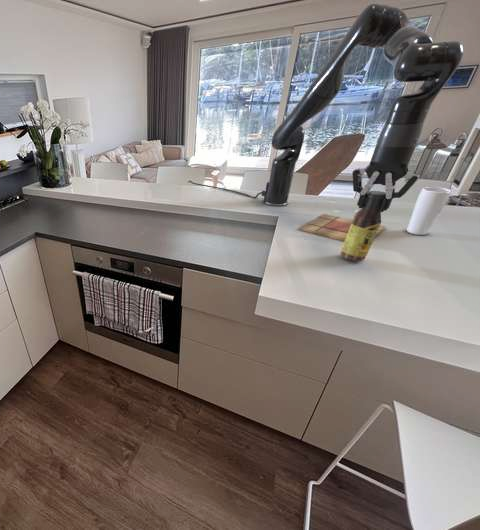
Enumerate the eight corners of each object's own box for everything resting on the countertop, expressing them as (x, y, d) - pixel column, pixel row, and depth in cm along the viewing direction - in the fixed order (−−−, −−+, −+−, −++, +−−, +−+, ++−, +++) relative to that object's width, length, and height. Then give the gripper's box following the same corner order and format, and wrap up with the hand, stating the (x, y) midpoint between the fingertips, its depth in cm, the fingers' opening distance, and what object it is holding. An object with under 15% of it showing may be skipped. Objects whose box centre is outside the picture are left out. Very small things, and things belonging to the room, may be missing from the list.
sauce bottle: (360, 264, 83) (388, 198, 73) (335, 256, 88) (359, 193, 78) (368, 257, 86) (396, 192, 76) (344, 250, 91) (368, 188, 81)
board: (299, 229, 108) (300, 226, 107) (323, 216, 118) (324, 213, 117) (363, 246, 94) (364, 242, 93) (384, 228, 104) (385, 225, 103)
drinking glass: (426, 230, 100) (447, 187, 93) (432, 237, 95) (455, 193, 88) (401, 227, 103) (419, 186, 96) (405, 234, 98) (425, 191, 91)
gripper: (440, 142, 68) (409, 211, 76) (367, 139, 78) (346, 201, 86) (431, 147, 64) (400, 219, 72) (356, 143, 74) (336, 207, 83)
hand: (371, 209), depth 79 cm, fingers closed on sauce bottle, 4 cm apart
